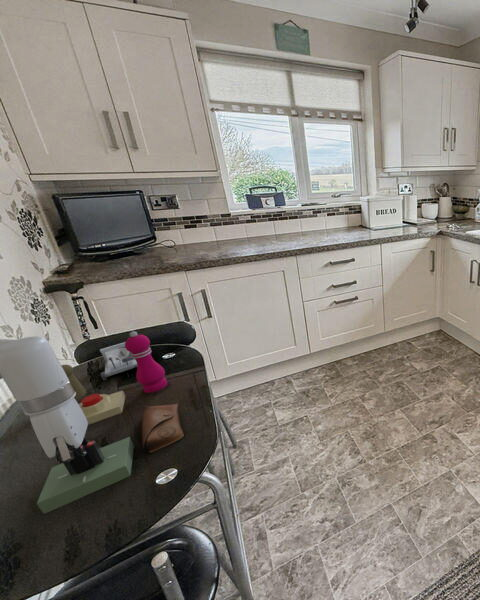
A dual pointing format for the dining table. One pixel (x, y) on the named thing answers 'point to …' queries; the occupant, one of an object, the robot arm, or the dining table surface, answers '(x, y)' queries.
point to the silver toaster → (116, 360)
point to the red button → (91, 400)
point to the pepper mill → (145, 363)
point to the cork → (74, 382)
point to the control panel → (87, 477)
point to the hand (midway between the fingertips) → (87, 465)
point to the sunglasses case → (160, 427)
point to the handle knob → (94, 453)
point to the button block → (104, 407)
